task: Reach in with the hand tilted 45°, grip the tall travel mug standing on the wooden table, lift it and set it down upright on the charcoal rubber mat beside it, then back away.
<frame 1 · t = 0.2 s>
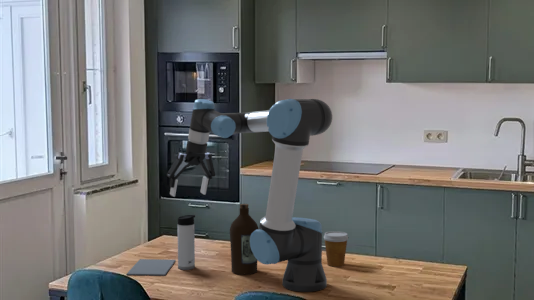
hand: (187, 194, 250), 27 cm above the table, tool tilted 15°, fingers open, 13 cm apart
travel mug: (186, 268, 249), on the table
rubber mat: (152, 267, 248), on the table
disposable coffee cup: (335, 265, 253), on the table
olive oil: (244, 272, 244), on the table
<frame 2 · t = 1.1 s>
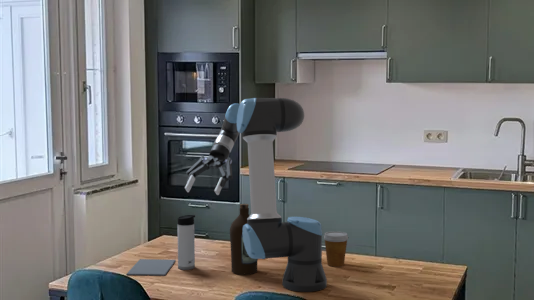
hand: (201, 191, 255), 27 cm above the table, tool tilted 45°, fingers open, 13 cm apart
nothing on the table moved.
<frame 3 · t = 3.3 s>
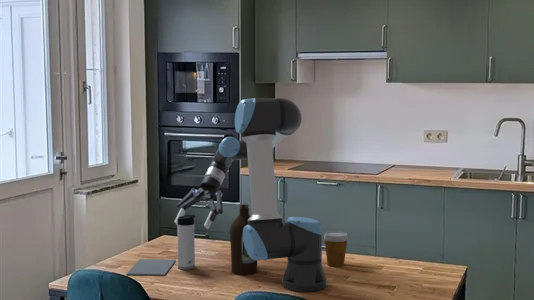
hand: (191, 225, 251), 15 cm above the table, tool tilted 45°, fingers open, 13 cm apart
nothing on the table moved.
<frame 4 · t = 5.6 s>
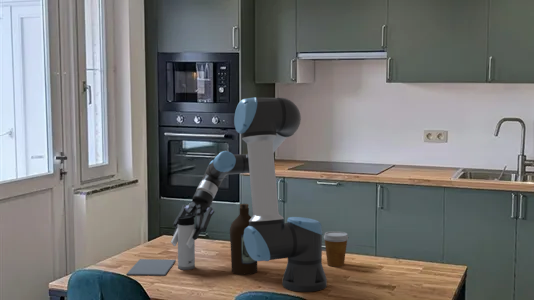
hand: (180, 244, 245), 9 cm above the table, tool tilted 45°, fingers closed on travel mug, 6 cm apart
travel mug: (186, 268, 249), on the table, touching gripper
everything else where it was.
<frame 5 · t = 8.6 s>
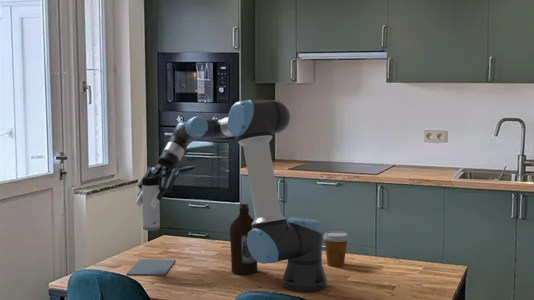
hand: (145, 205, 243), 24 cm above the table, tool tilted 45°, fingers closed on travel mug, 6 cm apart
travel mug: (151, 229, 247), point 15 cm above the table, touching gripper
everything else where it was.
when the fingers open (12 cm above the table, at t = 11.9 s): travel mug drops 1 cm, resting on rubber mat.
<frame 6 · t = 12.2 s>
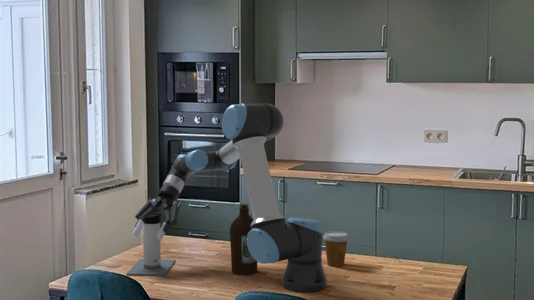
hand: (146, 237, 245), 12 cm above the table, tool tilted 45°, fingers open, 10 cm apart
travel mug: (152, 266, 248), resting on rubber mat
everything else where it was.
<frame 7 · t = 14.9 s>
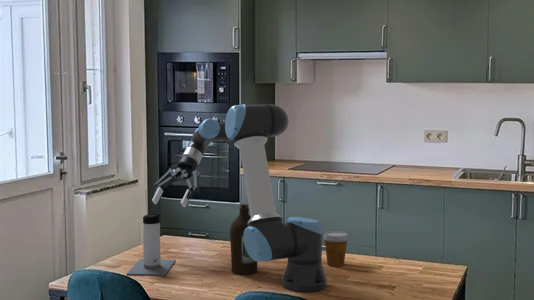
hand: (168, 203, 255), 23 cm above the table, tool tilted 45°, fingers open, 13 cm apart
nothing on the table moved.
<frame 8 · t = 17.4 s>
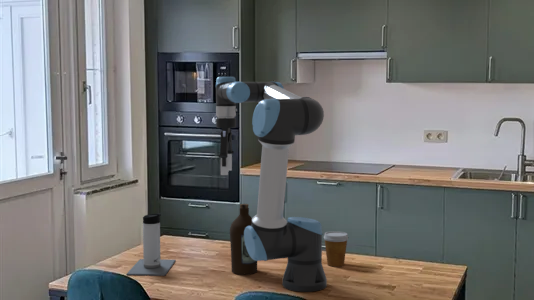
hand: (226, 172, 255), 35 cm above the table, tool pointing down, fingers open, 13 cm apart
nothing on the table moved.
at the end: travel mug inside the target area on the rubber mat (0.2 cm from its centre), point 0.4 cm above the rubber mat's base; travel mug tilted 0°; the gripper is holding nothing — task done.
